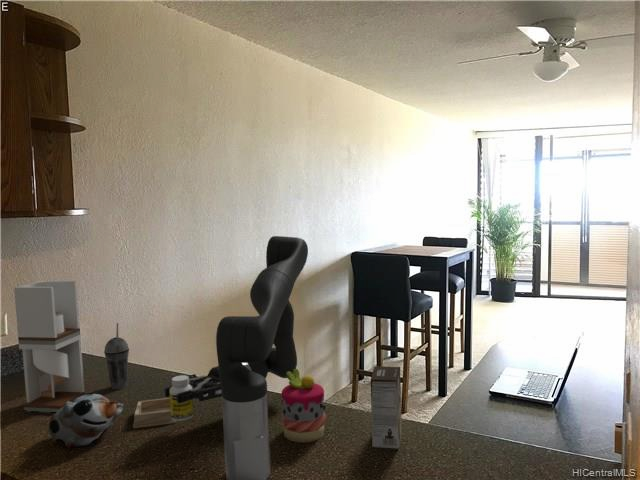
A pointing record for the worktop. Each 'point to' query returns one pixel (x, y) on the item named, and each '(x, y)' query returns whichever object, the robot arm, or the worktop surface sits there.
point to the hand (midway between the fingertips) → (171, 395)
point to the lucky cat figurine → (83, 420)
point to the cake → (303, 409)
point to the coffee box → (386, 407)
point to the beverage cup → (117, 361)
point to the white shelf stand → (50, 343)
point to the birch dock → (152, 413)
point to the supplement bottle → (180, 409)
